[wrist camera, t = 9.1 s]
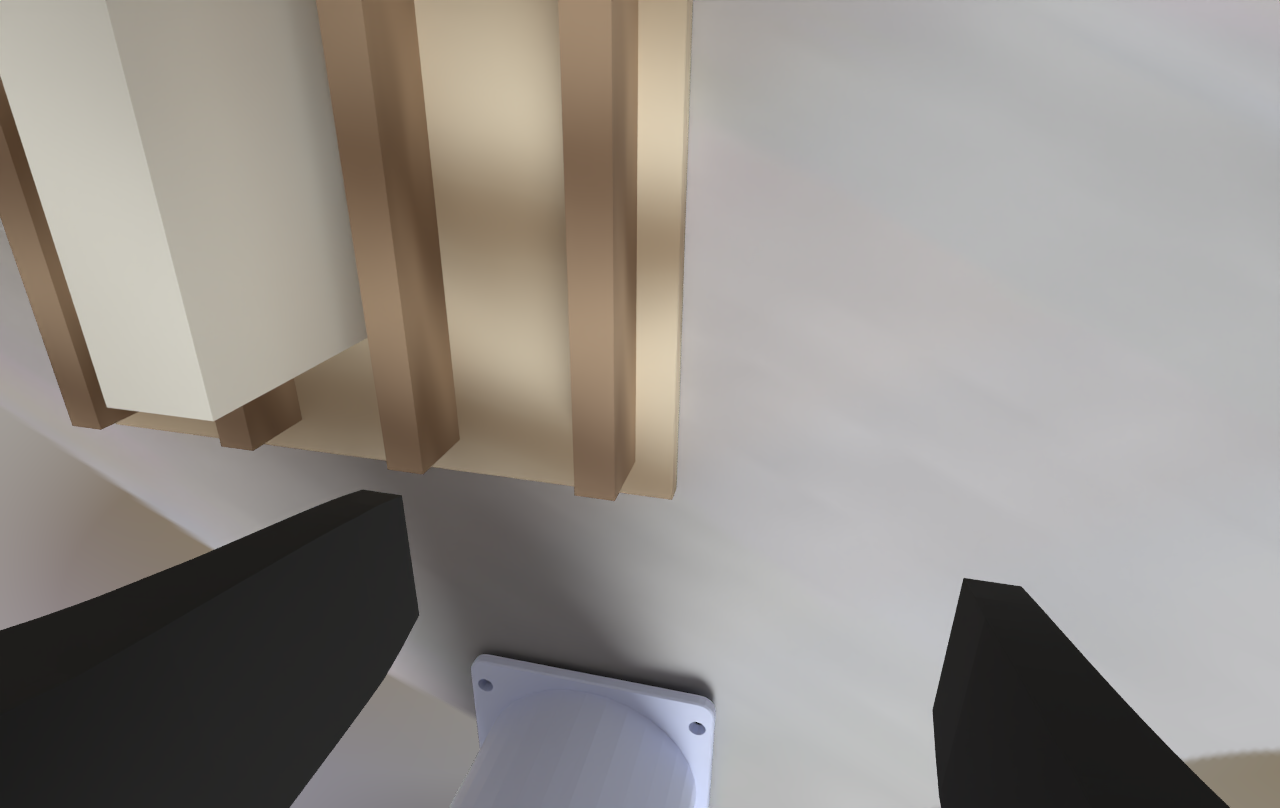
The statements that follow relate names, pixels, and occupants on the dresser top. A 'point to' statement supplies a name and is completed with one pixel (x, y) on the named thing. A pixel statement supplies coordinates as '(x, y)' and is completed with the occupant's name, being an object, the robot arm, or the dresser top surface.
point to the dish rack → (472, 247)
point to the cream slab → (188, 191)
